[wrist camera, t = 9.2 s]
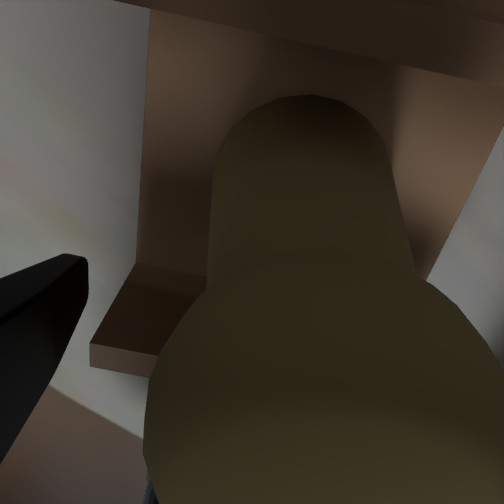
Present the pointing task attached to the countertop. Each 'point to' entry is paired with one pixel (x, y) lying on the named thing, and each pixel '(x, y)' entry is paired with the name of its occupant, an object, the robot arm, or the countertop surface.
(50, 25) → the countertop surface
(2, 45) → the countertop surface
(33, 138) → the countertop surface
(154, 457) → the olive bottle gourd
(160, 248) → the rack
